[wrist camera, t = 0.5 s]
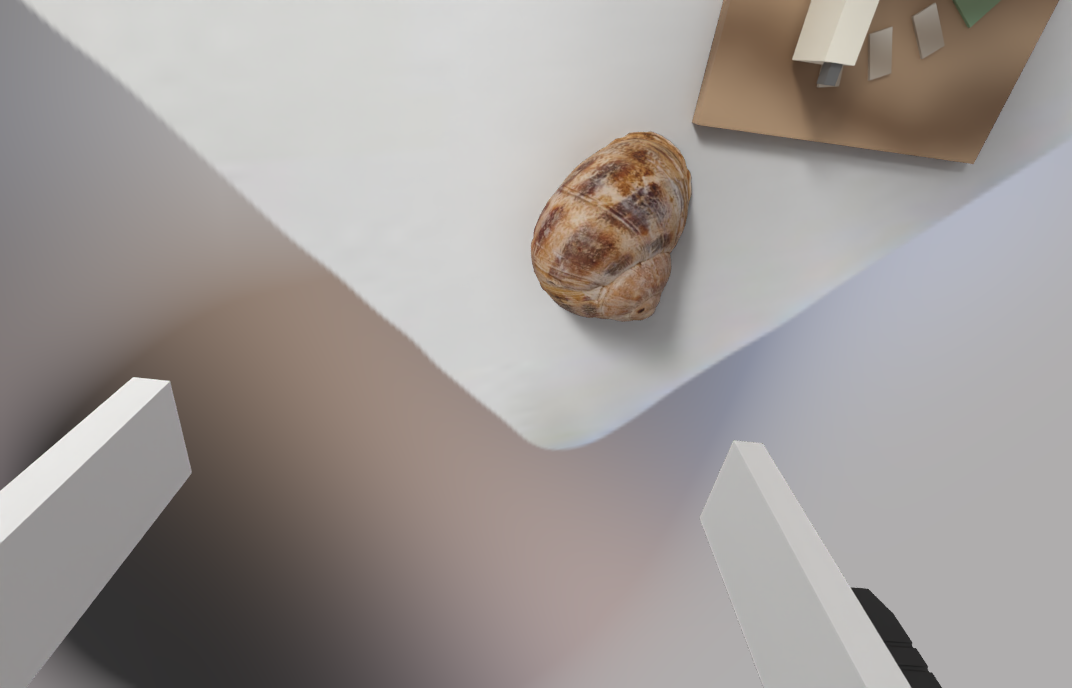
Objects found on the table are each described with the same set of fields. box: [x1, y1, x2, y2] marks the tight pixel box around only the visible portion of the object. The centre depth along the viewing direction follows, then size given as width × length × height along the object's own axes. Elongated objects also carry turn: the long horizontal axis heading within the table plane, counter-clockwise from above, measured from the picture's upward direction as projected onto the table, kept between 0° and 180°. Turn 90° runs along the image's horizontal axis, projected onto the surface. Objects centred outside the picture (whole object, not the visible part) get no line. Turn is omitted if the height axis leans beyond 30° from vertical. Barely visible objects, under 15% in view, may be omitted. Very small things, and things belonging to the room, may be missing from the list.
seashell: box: [531, 132, 691, 322], centre depth 33 cm, size 10×9×10 cm
